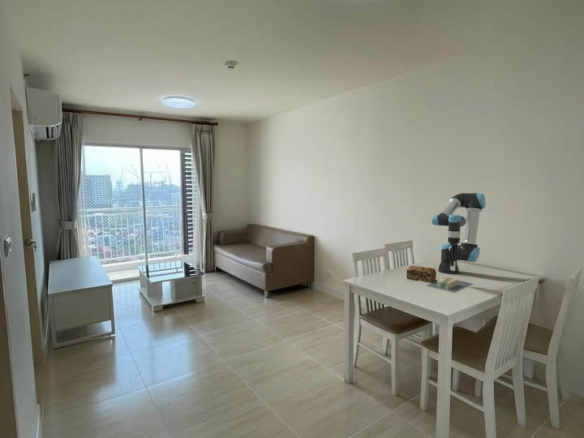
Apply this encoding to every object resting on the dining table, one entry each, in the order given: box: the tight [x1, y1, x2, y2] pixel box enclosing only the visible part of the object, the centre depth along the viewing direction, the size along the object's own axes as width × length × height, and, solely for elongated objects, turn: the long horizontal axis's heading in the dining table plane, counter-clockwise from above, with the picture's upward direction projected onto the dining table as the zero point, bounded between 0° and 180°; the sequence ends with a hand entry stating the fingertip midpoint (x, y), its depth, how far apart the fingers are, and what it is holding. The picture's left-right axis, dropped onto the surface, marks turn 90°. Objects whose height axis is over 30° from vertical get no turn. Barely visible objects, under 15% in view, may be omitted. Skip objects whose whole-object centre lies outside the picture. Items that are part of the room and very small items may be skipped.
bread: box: [405, 265, 437, 284], centre depth 250 cm, size 19×11×10 cm, turn 44°
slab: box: [436, 276, 459, 289], centre depth 233 cm, size 8×4×14 cm
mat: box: [425, 280, 473, 294], centre depth 236 cm, size 20×28×1 cm
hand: (452, 270), depth 237 cm, fingers closed
